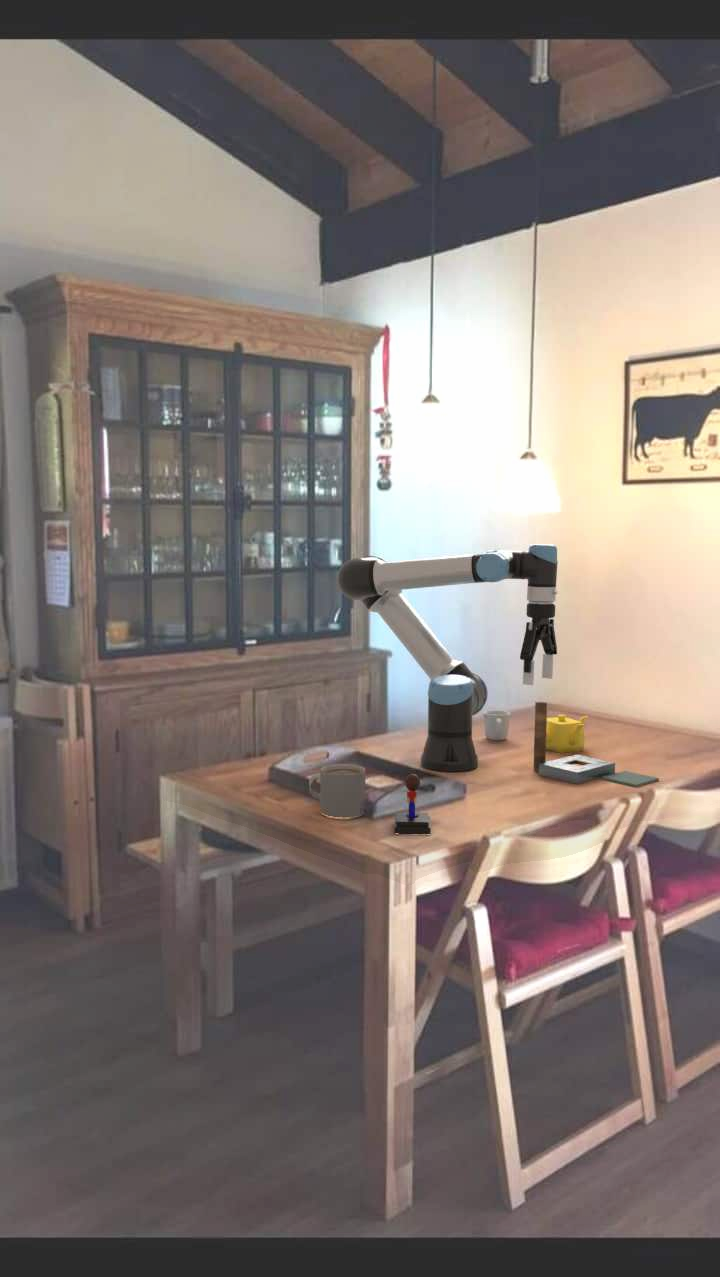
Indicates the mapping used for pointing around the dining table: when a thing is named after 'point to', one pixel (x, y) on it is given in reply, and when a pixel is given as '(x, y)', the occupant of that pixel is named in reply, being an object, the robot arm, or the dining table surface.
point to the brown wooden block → (540, 734)
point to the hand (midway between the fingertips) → (537, 681)
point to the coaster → (630, 778)
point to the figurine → (412, 812)
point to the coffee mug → (339, 789)
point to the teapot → (565, 734)
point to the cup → (496, 724)
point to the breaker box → (576, 769)
